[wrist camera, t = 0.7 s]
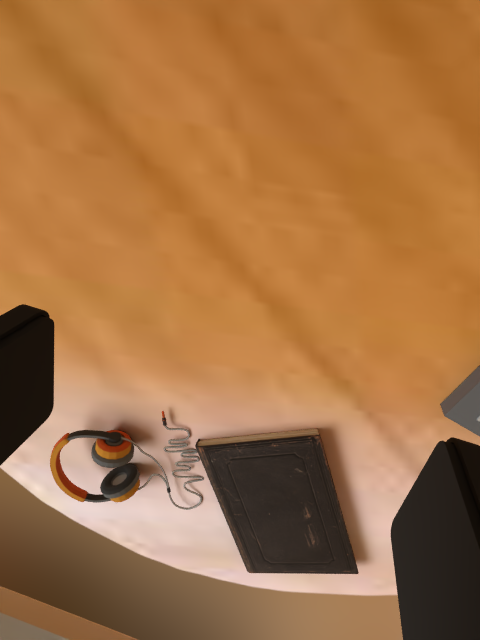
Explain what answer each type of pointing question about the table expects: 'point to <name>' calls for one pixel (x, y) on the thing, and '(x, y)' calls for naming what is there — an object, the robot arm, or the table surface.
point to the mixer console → (465, 403)
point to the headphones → (116, 465)
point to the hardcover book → (279, 502)
